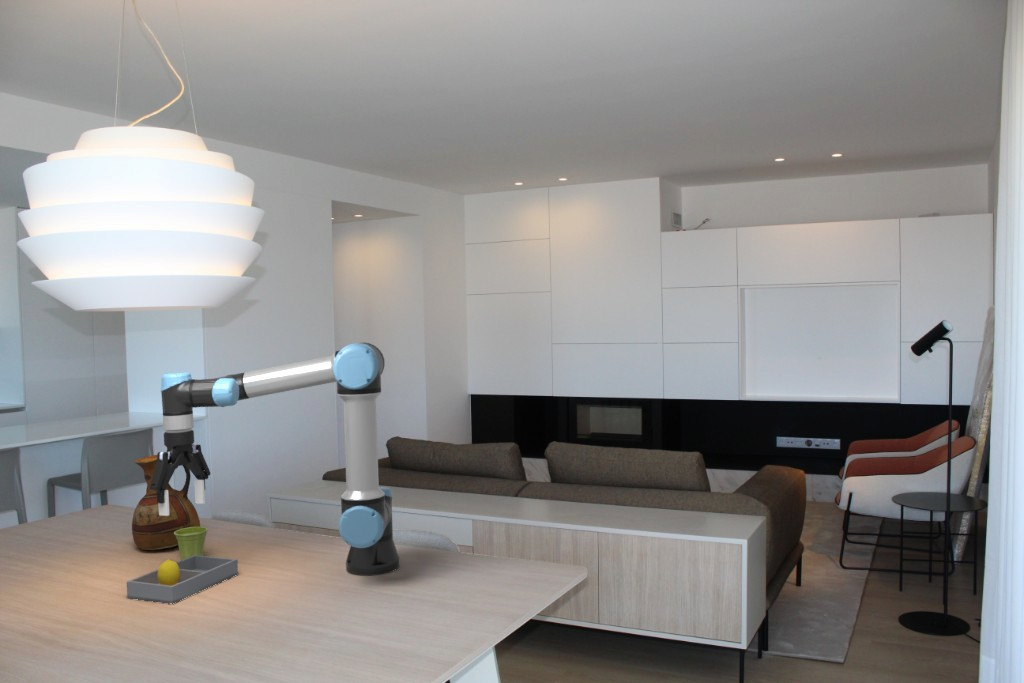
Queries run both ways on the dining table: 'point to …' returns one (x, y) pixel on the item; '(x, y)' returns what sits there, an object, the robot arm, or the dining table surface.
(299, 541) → the dining table surface
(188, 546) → the plant pot
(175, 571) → the lemon
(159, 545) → the ceramic pitcher
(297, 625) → the dining table surface
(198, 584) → the sorting tray
